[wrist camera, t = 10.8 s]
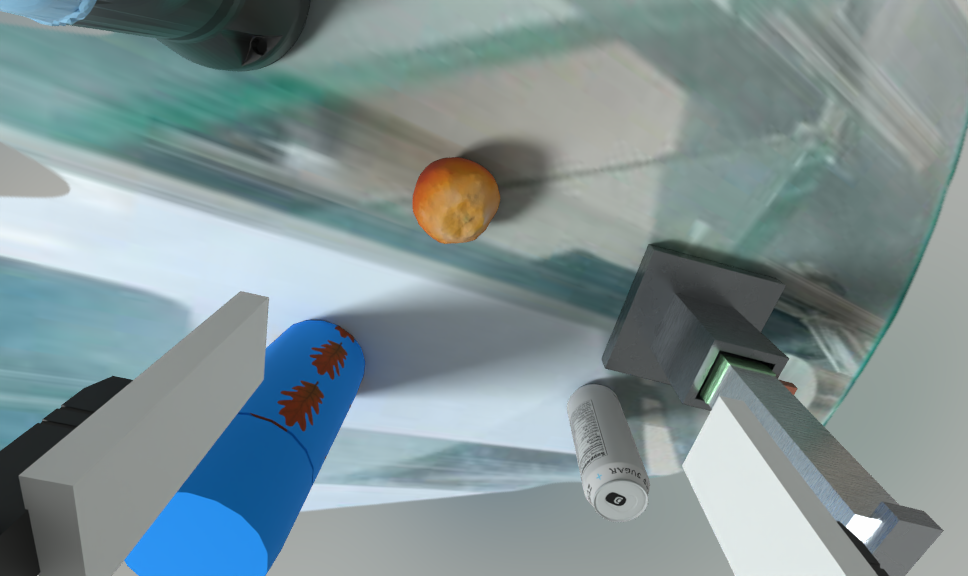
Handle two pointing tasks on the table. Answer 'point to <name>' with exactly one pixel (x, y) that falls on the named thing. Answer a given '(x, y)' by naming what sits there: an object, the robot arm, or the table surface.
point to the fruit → (455, 200)
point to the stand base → (692, 321)
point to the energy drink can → (607, 454)
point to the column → (825, 464)
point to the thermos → (259, 462)
